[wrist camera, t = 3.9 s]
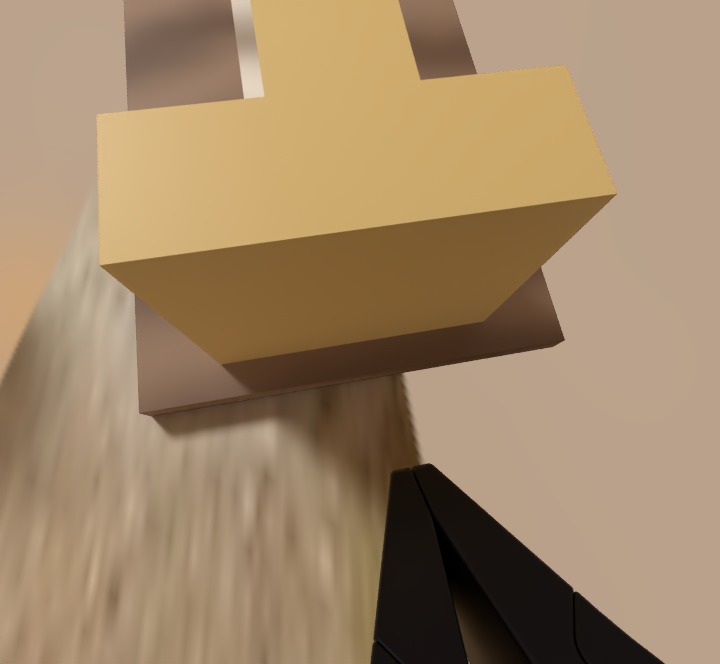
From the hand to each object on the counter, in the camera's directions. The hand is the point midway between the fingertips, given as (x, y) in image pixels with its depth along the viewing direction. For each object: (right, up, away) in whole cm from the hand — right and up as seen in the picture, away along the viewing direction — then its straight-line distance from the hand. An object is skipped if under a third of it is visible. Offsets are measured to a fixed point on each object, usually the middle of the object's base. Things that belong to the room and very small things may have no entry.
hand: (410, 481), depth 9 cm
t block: (-2, +8, +12) cm, 15 cm away
